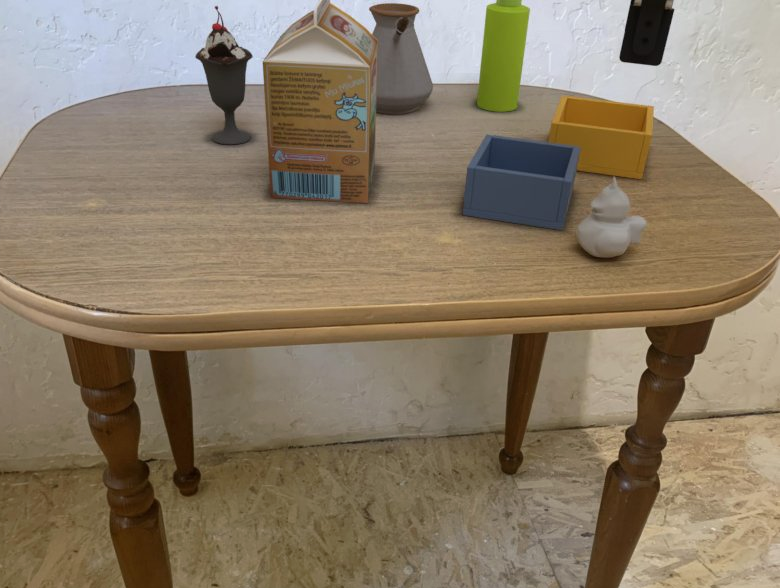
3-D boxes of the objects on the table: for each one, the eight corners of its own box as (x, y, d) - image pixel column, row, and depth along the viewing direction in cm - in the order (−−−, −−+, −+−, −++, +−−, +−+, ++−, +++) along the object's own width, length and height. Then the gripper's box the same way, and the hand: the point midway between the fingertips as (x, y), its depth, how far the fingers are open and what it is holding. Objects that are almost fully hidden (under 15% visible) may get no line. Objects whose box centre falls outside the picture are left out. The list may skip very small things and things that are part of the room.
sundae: (230, 125, 102) (219, 0, 93) (268, 137, 99) (260, 9, 90) (193, 138, 97) (177, 8, 88) (231, 151, 94) (219, 18, 85)
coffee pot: (351, 93, 115) (351, -20, 106) (427, 94, 116) (434, -17, 107) (354, 143, 98) (355, 15, 89) (444, 144, 99) (454, 17, 90)
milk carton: (286, 162, 92) (278, -15, 81) (374, 166, 92) (378, -10, 80) (270, 197, 84) (259, 6, 72) (367, 203, 84) (371, 11, 72)
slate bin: (572, 192, 88) (581, 146, 85) (562, 230, 80) (571, 181, 77) (481, 179, 90) (486, 134, 87) (462, 215, 82) (467, 166, 79)
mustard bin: (644, 147, 101) (654, 106, 97) (641, 179, 92) (652, 135, 89) (555, 135, 103) (561, 95, 100) (544, 166, 94) (551, 122, 91)
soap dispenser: (529, 110, 111) (552, -47, 99) (483, 112, 110) (500, -48, 98) (515, 98, 116) (535, -54, 104) (471, 100, 114) (486, -55, 102)
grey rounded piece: (566, 241, 78) (581, 164, 73) (630, 241, 78) (649, 164, 74) (580, 266, 74) (597, 186, 69) (647, 266, 74) (668, 187, 69)
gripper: (771, -216, 46) (690, 82, 56) (747, -208, 59) (685, 31, 70) (642, -222, 47) (586, 69, 58) (647, -213, 61) (601, 22, 71)
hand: (641, 48), depth 64 cm, fingers open, 9 cm apart
